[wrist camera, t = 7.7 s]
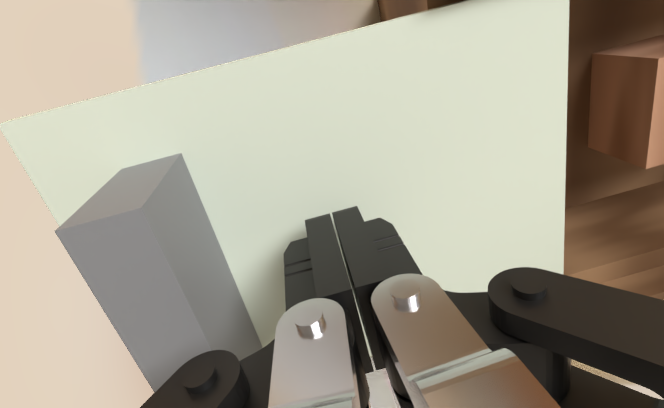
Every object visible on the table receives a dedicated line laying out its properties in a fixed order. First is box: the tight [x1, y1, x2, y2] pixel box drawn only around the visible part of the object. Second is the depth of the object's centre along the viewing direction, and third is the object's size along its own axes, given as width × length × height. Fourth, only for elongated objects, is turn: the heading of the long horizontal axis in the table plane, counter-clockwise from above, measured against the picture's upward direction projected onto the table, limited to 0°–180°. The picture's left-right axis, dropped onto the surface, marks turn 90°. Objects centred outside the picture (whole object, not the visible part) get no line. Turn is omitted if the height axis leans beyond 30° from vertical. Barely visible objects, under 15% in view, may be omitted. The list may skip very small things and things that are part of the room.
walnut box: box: [378, 0, 664, 300], centre depth 14 cm, size 16×12×6 cm
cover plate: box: [0, 0, 569, 392], centre depth 11 cm, size 14×11×4 cm
